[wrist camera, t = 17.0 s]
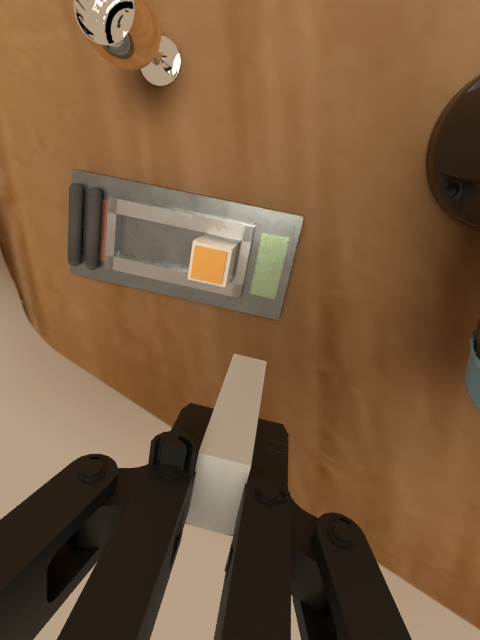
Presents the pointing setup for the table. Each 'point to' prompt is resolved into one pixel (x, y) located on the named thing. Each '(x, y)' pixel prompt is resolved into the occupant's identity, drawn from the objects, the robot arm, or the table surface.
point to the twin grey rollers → (76, 226)
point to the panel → (188, 243)
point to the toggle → (212, 260)
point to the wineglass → (129, 37)
